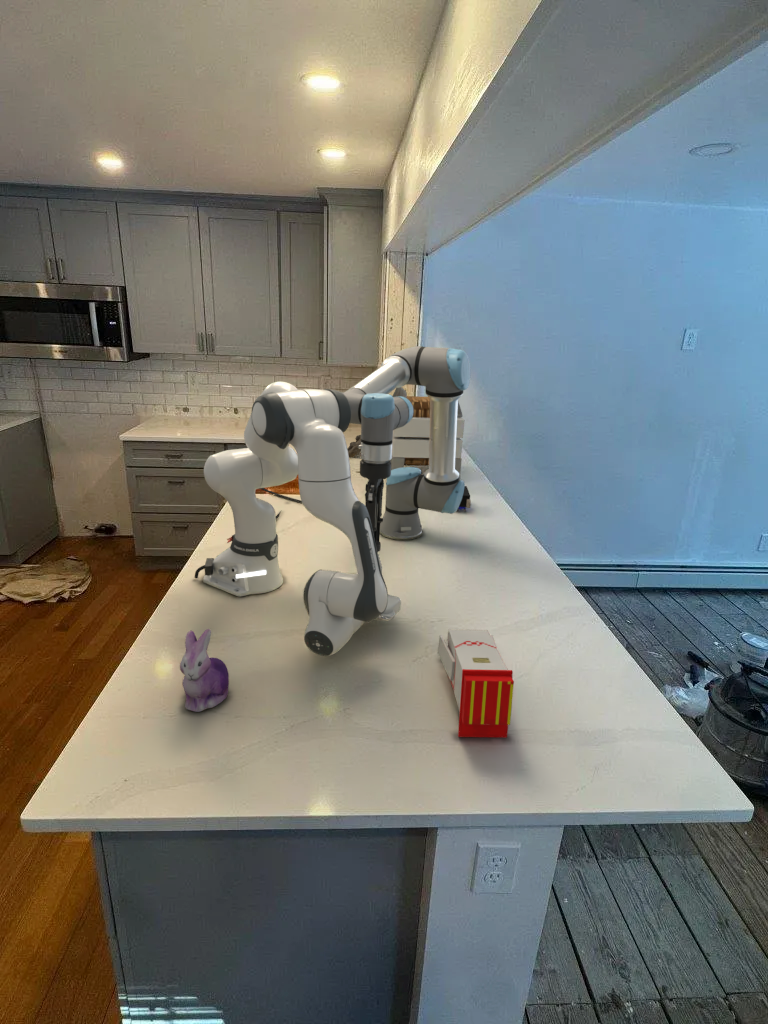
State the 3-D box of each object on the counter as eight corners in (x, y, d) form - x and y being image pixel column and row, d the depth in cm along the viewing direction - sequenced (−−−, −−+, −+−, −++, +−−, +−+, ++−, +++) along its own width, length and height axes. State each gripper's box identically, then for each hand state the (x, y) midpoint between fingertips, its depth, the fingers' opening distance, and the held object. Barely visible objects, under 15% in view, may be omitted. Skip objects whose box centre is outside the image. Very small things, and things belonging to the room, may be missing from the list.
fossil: (346, 440, 316) (367, 425, 311) (357, 453, 319) (378, 438, 314) (340, 453, 296) (362, 438, 291) (351, 468, 299) (374, 452, 294)
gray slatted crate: (382, 463, 289) (386, 382, 275) (445, 464, 293) (451, 384, 279) (390, 482, 257) (394, 392, 243) (460, 483, 261) (468, 394, 247)
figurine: (186, 720, 107) (180, 652, 102) (178, 689, 115) (171, 624, 110) (237, 706, 111) (233, 640, 106) (225, 677, 119) (221, 615, 114)
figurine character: (470, 516, 223) (465, 500, 237) (473, 499, 220) (467, 484, 233) (453, 516, 223) (449, 500, 236) (455, 498, 220) (451, 483, 233)
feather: (288, 505, 226) (290, 501, 226) (271, 529, 199) (273, 524, 199) (284, 503, 226) (287, 499, 225) (266, 526, 199) (269, 522, 199)
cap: (364, 545, 145) (364, 539, 145) (380, 546, 145) (381, 540, 144) (363, 552, 141) (363, 545, 141) (380, 553, 141) (380, 546, 141)
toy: (488, 613, 130) (523, 677, 101) (484, 667, 133) (517, 744, 104) (435, 612, 130) (455, 676, 101) (432, 666, 133) (451, 743, 103)
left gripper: (390, 609, 131) (410, 584, 143) (312, 590, 138) (337, 568, 150) (389, 632, 133) (408, 606, 145) (312, 613, 140) (337, 589, 152)
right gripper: (366, 450, 144) (363, 535, 152) (353, 467, 128) (351, 562, 136) (395, 452, 143) (391, 538, 151) (386, 470, 127) (382, 565, 135)
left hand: (371, 587), depth 148 cm, fingers closed on bottle, 5 cm apart
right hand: (372, 549), depth 143 cm, fingers closed on cap, 4 cm apart
